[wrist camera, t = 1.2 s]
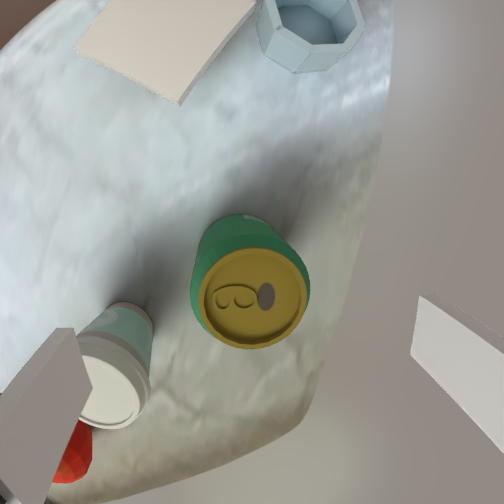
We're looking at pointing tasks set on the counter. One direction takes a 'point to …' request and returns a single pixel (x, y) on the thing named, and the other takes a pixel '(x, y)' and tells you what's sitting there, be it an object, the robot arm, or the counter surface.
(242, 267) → the beverage can
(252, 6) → the ceramic tile
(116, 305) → the coffee cup
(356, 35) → the bowl
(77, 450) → the apple
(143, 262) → the counter surface
